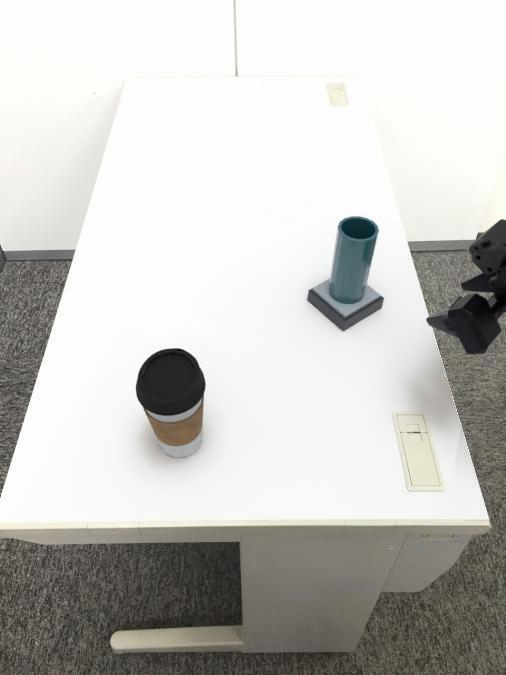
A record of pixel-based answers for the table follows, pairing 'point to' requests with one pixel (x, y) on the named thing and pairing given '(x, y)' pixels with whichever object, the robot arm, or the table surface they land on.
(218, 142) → the table surface
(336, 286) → the tumbler
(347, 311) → the scale
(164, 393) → the coffee cup
